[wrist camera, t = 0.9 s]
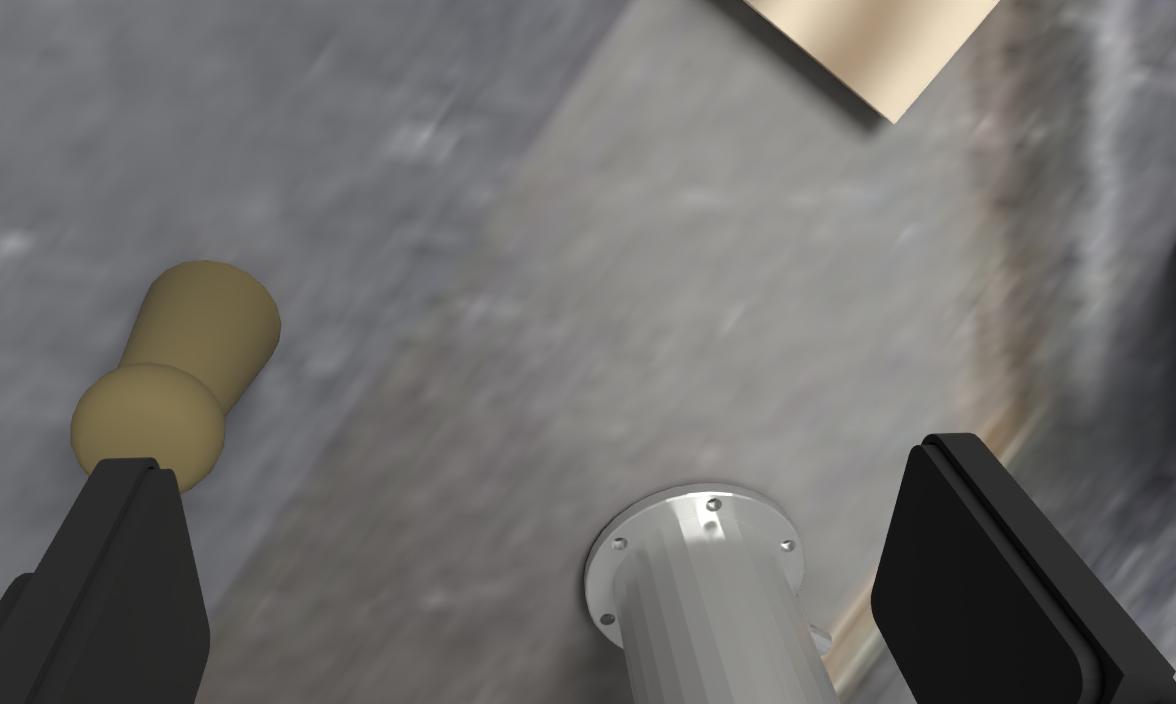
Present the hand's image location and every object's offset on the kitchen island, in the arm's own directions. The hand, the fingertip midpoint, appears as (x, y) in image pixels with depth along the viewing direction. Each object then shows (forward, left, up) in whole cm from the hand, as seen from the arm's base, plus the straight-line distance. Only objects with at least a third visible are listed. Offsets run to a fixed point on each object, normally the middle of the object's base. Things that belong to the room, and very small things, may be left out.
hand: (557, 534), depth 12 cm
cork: (+4, +17, -30) cm, 35 cm away
